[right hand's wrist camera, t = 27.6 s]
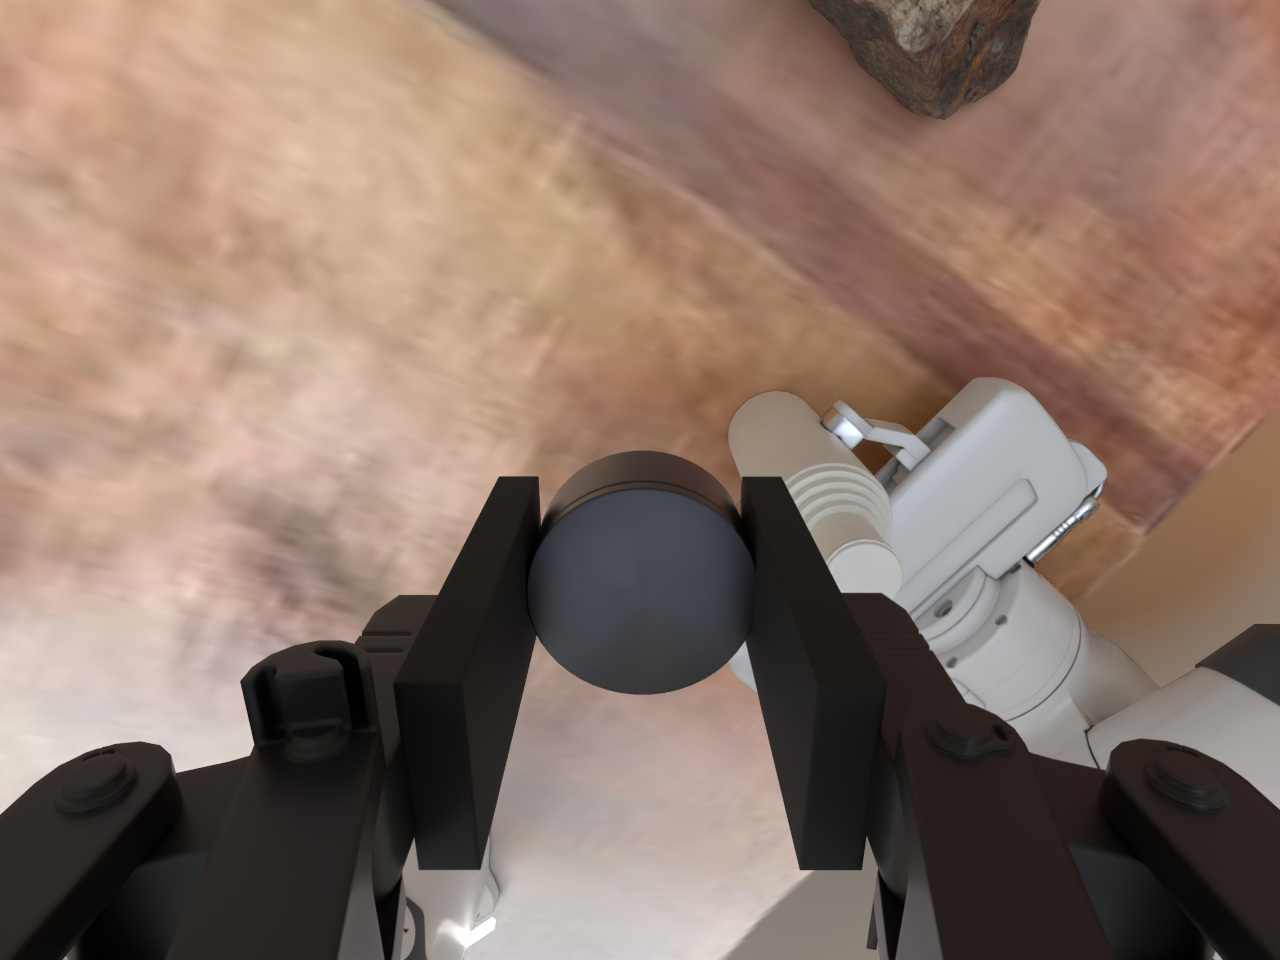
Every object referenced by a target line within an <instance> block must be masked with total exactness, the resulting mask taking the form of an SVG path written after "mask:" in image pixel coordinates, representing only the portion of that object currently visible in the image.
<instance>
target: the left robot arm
mask: <svg viewBox="0 0 1280 960" xmlns="http://www.w3.org/2000/svg"><path fill="white" fill-rule="evenodd" d="M833 406H834V407H835V408H834V407H833ZM833 406H832V407H831V408H830V409H829V410H828V411H827V412H826V413H825V414H824V415H823V416H822V417H821V418H820V419H819V420H820V422H822V423H823V425H824V426H825V427H826V428H827V429H828V430H829V431H830V432H831V433H833V434H834V435H836V436H838V437H839V438H840V440H841V441H842V442H843V443H844V444H845V445H846V446H847V447H848V448H849V449H850V450H852V449H853V448H854V447H855V446H856V445H857V444H858V443H859V442H860V441H861V440H862V439H863V438H864V439H867V440H871V441H876V442H881V443H883V446H884V447H885V448H886V449H887V450H888V451H889V452H890V453H891V454H892V455H894V456H893V457H892V458H891V459H890V460H889V461H888V462H887V463H886V464H885V465H884V466H883V467H882V468H881V469H880V470H879V471H878V472H877V473H876V474H875V475H874V477H875V478H876V479H877V480H878V481H879V482H880V483H881V485H882V486H883V487H884V489H885V491H886V492H887V495H888V497H889V499H890V503H891V507H892V513H893V531H892V536H891V539H890V542H889V544H890V545H891V547H892V548H893V549H894V551H895V552H896V553H897V554H898V556H899V557H900V560H901V563H902V565H903V579H902V584H901V587H900V590H899V592H898V594H897V595H896V597H895V598H894V599H893V601H894V602H895V603H897V604H898V605H900V606H901V607H903V608H904V609H905V610H906V611H907V612H908V614H909V615H910V617H911V618H912V620H913V621H914V623H915V625H916V626H917V628H918V629H919V634H922V635H923V637H924V638H925V640H926V641H927V643H928V644H929V646H930V650H932V651H933V652H934V654H935V655H936V657H937V658H938V660H939V661H940V663H941V664H942V666H943V667H944V669H945V671H946V672H947V674H948V675H949V677H950V678H951V680H952V681H953V683H954V684H955V686H956V687H957V689H958V690H959V692H960V694H961V695H962V697H963V698H964V700H965V701H966V703H969V704H973V705H976V706H978V707H980V708H983V709H985V710H987V711H989V712H991V713H994V714H996V715H997V716H999V717H1000V718H1001V719H1003V720H1004V721H1005V722H1007V723H1008V724H1009V725H1011V726H1012V727H1013V728H1015V730H1016V731H1017V733H1018V734H1019V735H1020V737H1021V738H1022V740H1023V741H1024V742H1025V744H1026V746H1027V748H1028V751H1029V752H1031V753H1034V754H1038V755H1041V756H1045V757H1048V758H1052V759H1056V760H1061V761H1065V762H1070V763H1075V764H1079V765H1084V766H1089V767H1093V768H1098V769H1102V770H1106V767H1107V763H1108V760H1109V756H1110V752H1111V751H1112V750H1113V749H1114V748H1115V747H1117V746H1118V745H1119V744H1120V743H1121V742H1124V741H1130V740H1135V739H1140V738H1143V739H1153V740H1163V741H1169V742H1172V743H1177V744H1179V745H1182V746H1183V745H1184V746H1187V747H1190V748H1193V749H1196V750H1198V751H1200V752H1202V753H1204V754H1206V755H1208V756H1210V757H1212V758H1214V759H1216V760H1218V761H1220V762H1222V763H1224V764H1226V765H1227V766H1228V767H1230V768H1231V769H1232V770H1234V771H1235V772H1237V773H1238V774H1239V775H1241V776H1242V777H1244V778H1245V779H1246V780H1248V781H1249V782H1250V783H1251V784H1252V785H1253V786H1254V787H1255V788H1256V789H1258V790H1259V791H1260V792H1261V793H1262V794H1263V795H1264V796H1265V797H1266V798H1268V799H1269V800H1270V801H1271V802H1272V803H1273V804H1274V805H1275V806H1276V807H1278V808H1279V809H1280V624H1254V625H1253V626H1251V627H1250V628H1248V629H1247V630H1246V631H1244V632H1243V633H1241V634H1240V635H1238V636H1237V637H1235V638H1234V639H1233V640H1231V641H1230V642H1228V643H1227V644H1225V645H1224V646H1222V647H1221V648H1220V649H1218V650H1217V651H1215V652H1214V653H1212V654H1211V655H1209V656H1208V657H1206V658H1205V659H1204V660H1202V661H1201V662H1199V663H1198V664H1196V666H1195V668H1196V669H1194V670H1192V671H1191V672H1189V673H1187V674H1185V675H1183V676H1182V677H1180V678H1178V679H1176V680H1174V681H1173V682H1171V683H1169V684H1167V685H1166V686H1164V687H1162V688H1159V687H1158V685H1157V684H1156V683H1155V682H1154V681H1153V680H1152V679H1151V678H1150V677H1149V676H1148V674H1147V673H1146V672H1145V671H1144V670H1143V669H1142V668H1141V667H1140V666H1139V665H1138V664H1137V663H1136V662H1135V661H1134V660H1133V659H1131V658H1130V657H1129V656H1128V655H1127V654H1126V653H1125V652H1124V651H1123V650H1122V649H1121V648H1120V647H1119V646H1117V645H1116V644H1115V643H1114V642H1112V641H1111V640H1109V639H1108V638H1106V637H1104V636H1103V635H1101V634H1098V633H1096V632H1094V631H1091V630H1089V629H1088V628H1087V627H1086V625H1085V623H1084V621H1083V618H1082V617H1081V615H1080V613H1079V612H1078V611H1077V609H1076V608H1075V607H1074V606H1073V604H1072V603H1071V602H1070V601H1069V600H1068V599H1067V598H1066V597H1064V596H1063V595H1062V594H1061V593H1060V592H1059V591H1058V590H1057V589H1056V588H1055V587H1054V586H1053V585H1051V584H1050V583H1049V582H1048V581H1047V580H1046V579H1045V578H1044V577H1043V576H1042V575H1041V574H1040V573H1038V572H1037V571H1036V570H1035V569H1034V565H1035V564H1036V563H1037V562H1039V561H1040V560H1041V559H1042V558H1043V557H1044V556H1046V555H1047V554H1048V553H1049V552H1050V551H1051V550H1052V549H1054V548H1055V547H1056V546H1057V545H1058V544H1059V543H1060V542H1061V540H1063V538H1064V536H1066V535H1067V534H1068V532H1070V531H1071V530H1072V528H1075V527H1076V526H1077V525H1078V524H1079V523H1083V522H1084V521H1086V520H1087V519H1088V518H1089V517H1090V516H1091V515H1092V514H1093V513H1094V512H1095V511H1096V510H1097V509H1098V507H1099V506H1100V504H1099V502H1098V501H1097V499H1098V498H1099V496H1100V495H1101V494H1102V492H1103V490H1104V487H1105V484H1106V478H1107V470H1106V468H1105V466H1104V464H1103V463H1102V461H1101V460H1100V459H1099V458H1098V457H1097V456H1096V455H1095V454H1094V453H1093V452H1092V451H1091V450H1090V449H1089V448H1088V447H1087V446H1086V445H1085V444H1084V443H1083V442H1081V441H1079V440H1077V439H1074V438H1070V437H1066V436H1065V435H1064V433H1063V432H1062V431H1061V429H1060V428H1059V426H1058V425H1057V424H1056V423H1055V421H1054V420H1053V419H1052V417H1051V416H1050V415H1049V414H1048V412H1047V411H1046V410H1045V409H1044V408H1043V407H1042V405H1041V404H1040V403H1039V402H1038V401H1037V400H1036V399H1035V398H1034V397H1033V396H1032V395H1031V394H1030V393H1029V392H1028V391H1027V390H1025V389H1024V388H1022V387H1021V386H1019V385H1017V384H1015V383H1013V382H1011V381H1009V380H1006V379H1003V378H996V377H978V378H975V379H973V380H972V381H970V382H969V383H968V384H967V385H966V386H965V387H964V388H963V389H962V390H961V391H960V392H959V393H958V394H957V395H956V396H955V397H954V398H953V399H952V400H951V401H950V402H949V403H948V404H947V405H946V406H945V407H944V408H943V409H941V410H940V411H939V412H938V413H937V414H936V415H935V416H934V417H933V418H932V419H931V420H930V421H929V422H928V423H927V424H926V425H925V426H924V427H923V428H922V429H921V430H920V431H919V432H918V433H917V434H916V435H914V434H913V433H912V432H910V431H909V430H908V429H907V428H905V427H904V426H903V425H901V424H898V423H892V422H887V421H881V420H875V419H870V418H864V419H862V418H861V417H860V416H859V415H858V414H857V413H856V412H855V411H854V410H852V409H851V408H850V407H849V406H848V405H847V404H846V403H845V402H843V401H842V400H841V399H840V398H839V399H838V401H837V402H836V403H835V404H834V405H833ZM1089 493H1091V494H1089ZM736 507H737V509H738V512H739V514H740V507H741V501H740V502H739V503H738V504H737V505H736ZM727 664H728V667H729V669H730V670H731V672H732V673H733V674H734V675H735V677H737V678H738V679H739V680H740V681H741V682H743V683H744V684H745V685H746V686H748V687H749V688H750V689H752V690H753V691H755V692H756V693H758V692H757V688H756V684H755V680H754V676H753V671H752V667H751V663H750V659H749V655H748V650H747V646H746V642H744V643H743V645H742V646H741V647H740V649H739V650H738V651H737V653H736V654H735V655H734V656H733V657H732V658H731V659H730V660H729V661H728V662H727ZM489 854H490V835H489V837H488V841H487V845H486V849H485V854H484V858H483V862H482V866H481V870H419V868H418V861H417V854H416V846H415V839H414V840H413V842H412V845H411V848H410V851H409V854H408V856H407V859H406V862H405V865H404V868H403V871H402V873H403V880H404V887H405V894H406V901H407V902H406V912H405V921H404V931H403V940H402V949H401V959H400V960H463V959H464V956H465V953H466V950H467V947H468V946H469V945H471V944H472V943H474V942H475V941H477V940H478V939H480V938H481V937H483V936H484V935H486V934H487V933H489V932H490V931H492V930H493V929H494V925H495V919H493V918H491V919H490V920H488V921H487V922H485V923H484V924H482V925H481V926H479V927H478V928H476V929H475V930H473V928H474V925H475V922H477V921H479V920H480V919H482V918H484V917H485V916H487V915H488V914H490V913H491V912H492V911H493V910H494V909H495V906H496V903H497V900H498V897H499V890H498V887H497V884H496V881H495V879H494V877H493V875H492V873H491V871H490V868H489ZM1213 958H1214V960H1222V959H1221V957H1220V956H1219V955H1218V954H1217V952H1215V955H1214V957H1213Z"/></svg>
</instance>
